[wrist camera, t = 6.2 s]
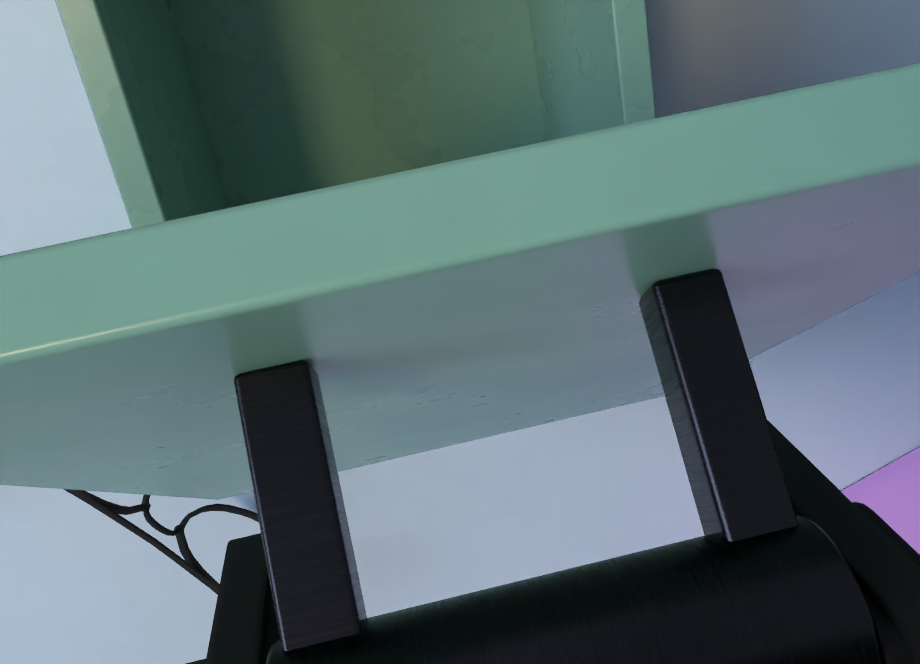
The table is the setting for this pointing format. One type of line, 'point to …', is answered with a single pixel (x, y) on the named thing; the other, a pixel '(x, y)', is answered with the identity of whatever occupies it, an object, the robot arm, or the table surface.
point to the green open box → (341, 88)
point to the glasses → (163, 529)
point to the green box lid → (490, 365)
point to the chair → (894, 496)
